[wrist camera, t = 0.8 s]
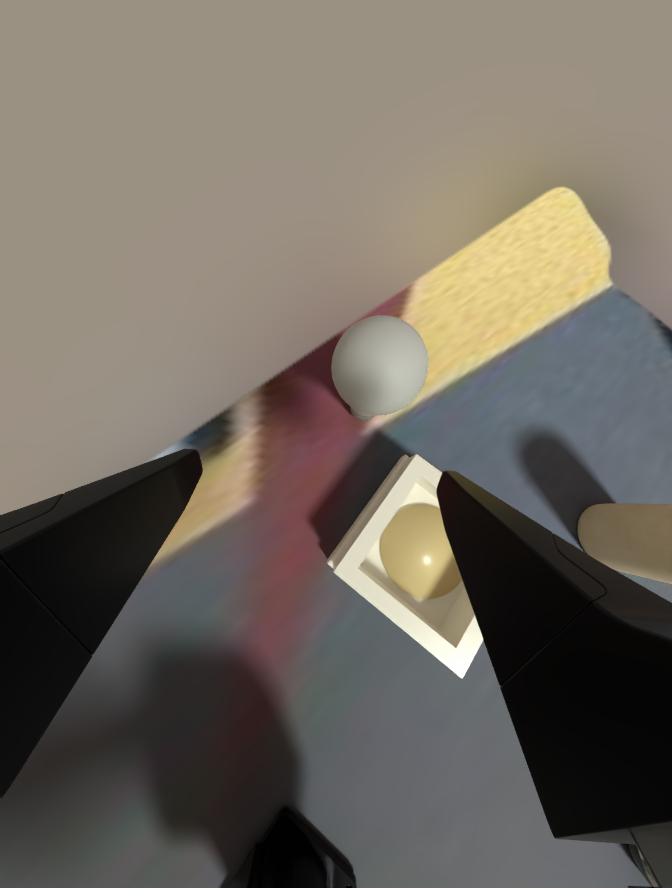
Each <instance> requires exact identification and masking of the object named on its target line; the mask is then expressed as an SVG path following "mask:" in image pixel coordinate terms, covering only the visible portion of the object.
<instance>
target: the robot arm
mask: <svg viewBox="0 0 672 888" xmlns="http://www.w3.org/2000/svg"><path fill="white" fill-rule="evenodd" d="M202 471H203V469H202V464H201V459H200V455H199V452H198V451H197V450H195V449H183V450H180V451H177V452H175V453H172V454H169V455H166V456H164V457H161V458H158V459H155V460H153V461H150V462H147V463H144V464H142V465H139V466H136V467H134V468H131V469H128V470H125V471H123V472H120V473H117V474H114V475H112V476H109V477H106V478H103V479H101V480H98V481H95V482H92V483H90V484H87V485H84V486H81V487H79V488H76V489H73V490H71V491H68V492H65V493H64V494H60V495H57V496H54V497H51V498H48V499H46V500H43V501H40V502H38V503H35V504H32V505H29V506H26V507H23V508H20V509H17V510H14V511H11V512H9V513H6V514H3V515H0V799H1V798H2V797H3V795H4V794H5V793H6V791H7V790H8V788H9V787H10V786H11V784H12V783H13V781H14V780H15V778H16V776H17V775H18V773H19V772H20V770H21V769H22V767H23V765H24V764H25V762H26V761H27V759H28V757H29V756H30V754H31V753H32V751H33V749H34V748H35V746H36V745H37V743H38V742H39V740H40V738H41V737H42V735H43V734H44V732H45V730H46V729H47V727H48V726H49V724H50V723H51V721H52V719H53V718H54V716H55V715H56V713H57V711H58V710H59V708H60V707H61V705H62V704H63V702H64V700H65V699H66V697H67V696H68V694H69V692H70V691H71V689H72V688H73V686H74V685H75V683H76V681H77V680H78V678H79V677H80V675H81V673H82V672H83V670H84V669H85V667H86V666H87V664H88V662H89V661H90V659H91V658H92V654H94V652H95V651H96V649H97V648H98V646H99V645H100V643H101V641H102V640H103V638H104V637H105V635H106V633H107V632H108V630H109V629H110V627H111V626H112V624H113V622H114V621H115V619H116V618H117V616H118V614H119V613H120V611H121V610H122V608H123V607H124V605H125V603H126V602H127V600H128V599H129V597H130V595H131V594H132V592H133V591H134V589H135V588H136V586H137V584H138V583H139V581H140V580H141V578H142V576H143V575H144V573H145V572H146V570H147V569H148V567H149V565H150V564H151V562H152V561H153V559H154V557H155V556H156V554H157V553H158V551H159V549H160V548H161V546H162V545H163V543H164V542H165V540H166V538H167V537H168V535H169V534H170V532H171V530H172V529H173V527H174V526H175V524H176V523H177V521H178V519H179V518H180V516H181V515H182V513H183V511H184V510H185V508H186V506H187V504H188V502H189V500H190V498H191V496H192V494H193V492H194V490H195V487H196V485H197V483H198V481H199V479H200V477H201V475H202ZM436 494H437V498H438V503H439V507H440V512H441V516H442V520H443V525H444V529H445V532H446V535H447V538H448V541H449V544H450V547H451V549H452V552H453V555H454V558H455V561H456V564H457V566H458V569H459V572H460V575H461V578H462V580H463V583H464V586H465V589H466V592H467V595H468V597H469V600H470V603H471V606H472V609H473V612H474V614H475V617H476V620H477V623H478V626H479V629H480V631H481V634H482V637H483V640H484V643H485V646H486V648H487V651H488V654H489V657H490V660H491V662H492V665H493V668H494V671H495V674H496V677H497V679H498V682H499V685H500V686H501V687H500V689H501V691H502V694H503V697H504V700H505V703H506V706H507V708H508V711H509V714H510V717H511V720H512V722H513V725H514V728H515V731H516V734H517V737H518V739H519V742H520V745H521V748H522V751H523V754H524V756H525V759H526V762H527V765H528V768H529V771H530V773H531V776H532V779H533V782H534V785H535V788H536V790H537V793H538V796H539V799H540V802H541V804H542V807H543V810H544V813H545V816H546V819H547V821H548V824H549V826H550V829H551V831H552V834H553V836H554V838H555V839H566V840H580V841H594V842H608V843H622V844H636V846H637V848H638V849H639V851H640V853H641V855H642V857H643V859H644V861H645V863H646V864H647V866H648V868H649V870H650V872H651V874H652V876H653V877H654V879H655V881H656V883H657V885H658V887H642V886H628V888H672V603H671V602H669V601H667V600H665V599H664V598H662V597H660V596H658V595H657V594H655V593H653V592H652V591H650V590H648V589H646V588H645V587H643V586H641V585H639V584H638V583H636V582H634V581H632V580H631V579H629V578H627V577H625V576H624V575H622V574H620V573H618V572H617V571H615V570H613V569H612V568H610V567H608V566H606V565H605V564H603V563H601V562H600V561H598V560H596V559H594V558H593V557H591V556H589V555H588V554H586V553H585V552H583V551H581V550H580V549H578V548H576V547H575V546H573V545H572V544H570V543H568V542H567V541H565V540H564V539H562V538H560V537H559V536H557V535H556V534H552V532H551V531H549V530H548V529H546V528H544V527H543V526H541V525H540V524H538V523H537V522H535V521H533V520H532V519H530V518H529V517H527V516H525V515H524V514H522V513H521V512H519V511H518V510H516V509H514V508H513V507H511V506H510V505H508V504H507V503H505V502H503V501H502V500H500V499H499V498H497V497H495V496H494V495H492V494H491V493H489V492H488V491H486V490H484V489H483V488H481V487H480V486H478V485H476V484H475V483H473V482H472V481H470V480H469V479H467V478H465V477H464V476H462V475H461V474H459V473H458V472H456V471H443V473H442V475H441V477H440V480H439V483H438V486H437V489H436ZM282 820H286V822H283V821H282ZM347 885H350V886H347ZM230 888H357V887H356V878H355V875H354V873H353V872H352V871H351V870H350V869H349V868H348V867H347V866H346V865H345V864H344V863H343V862H342V861H341V860H340V859H339V858H338V857H337V856H336V855H335V854H334V853H333V852H332V851H331V850H330V849H329V848H328V847H327V846H326V845H325V844H324V843H323V842H321V841H320V840H319V839H318V838H317V837H316V836H315V835H314V834H313V833H312V832H311V831H310V830H309V829H308V828H307V827H306V826H305V825H304V824H303V823H302V822H301V821H300V820H299V819H298V818H297V817H296V816H295V815H294V814H293V813H292V812H291V811H290V810H289V809H287V808H283V809H281V810H280V811H279V813H278V814H277V816H276V818H275V819H274V821H273V822H272V824H271V826H270V827H269V829H268V830H267V832H266V834H265V835H264V837H263V839H262V840H261V841H259V842H257V843H256V844H255V845H254V847H253V849H252V850H251V852H250V853H249V855H248V857H247V858H246V860H245V861H244V863H243V865H242V866H241V868H240V869H239V871H238V873H237V874H236V876H235V877H234V879H233V881H232V883H231V886H230Z"/></svg>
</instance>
